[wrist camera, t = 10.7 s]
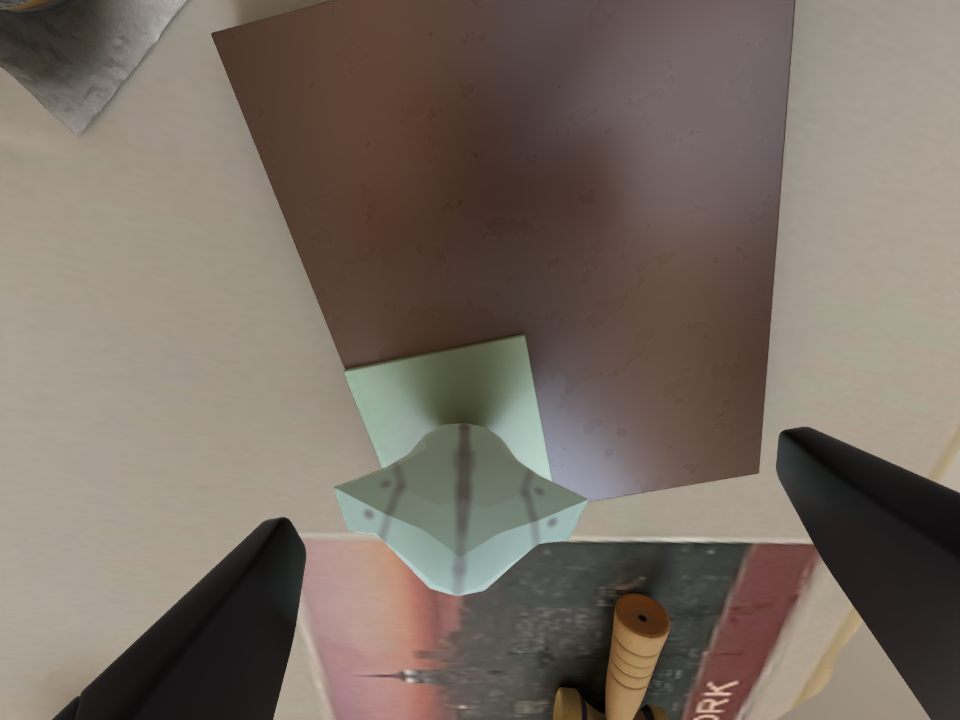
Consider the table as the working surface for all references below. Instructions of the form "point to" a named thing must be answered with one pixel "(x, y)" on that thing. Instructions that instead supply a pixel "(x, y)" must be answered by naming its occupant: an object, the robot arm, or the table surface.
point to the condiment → (78, 49)
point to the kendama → (625, 664)
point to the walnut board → (537, 219)
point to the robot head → (459, 508)
